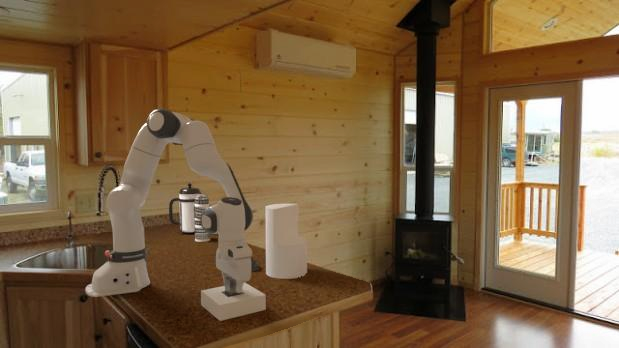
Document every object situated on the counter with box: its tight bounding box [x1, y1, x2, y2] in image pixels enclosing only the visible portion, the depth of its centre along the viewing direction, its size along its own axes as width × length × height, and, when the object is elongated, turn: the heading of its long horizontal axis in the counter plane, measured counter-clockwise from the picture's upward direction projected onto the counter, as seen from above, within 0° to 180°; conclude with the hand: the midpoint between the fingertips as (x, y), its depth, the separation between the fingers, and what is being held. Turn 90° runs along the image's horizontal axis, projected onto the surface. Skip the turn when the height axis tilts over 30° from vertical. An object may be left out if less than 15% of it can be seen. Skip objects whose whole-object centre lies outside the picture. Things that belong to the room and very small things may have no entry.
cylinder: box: [264, 203, 308, 280], centre depth 185 cm, size 17×17×28 cm
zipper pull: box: [250, 256, 259, 272], centre depth 199 cm, size 9×7×25 cm
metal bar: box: [224, 276, 241, 297], centre depth 147 cm, size 4×4×10 cm
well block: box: [200, 282, 267, 322], centre depth 147 cm, size 16×16×5 cm
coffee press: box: [168, 182, 203, 236], centre depth 263 cm, size 17×16×30 cm
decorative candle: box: [194, 194, 212, 243], centre depth 245 cm, size 9×9×25 cm
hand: (232, 288), depth 147 cm, fingers open, 8 cm apart
